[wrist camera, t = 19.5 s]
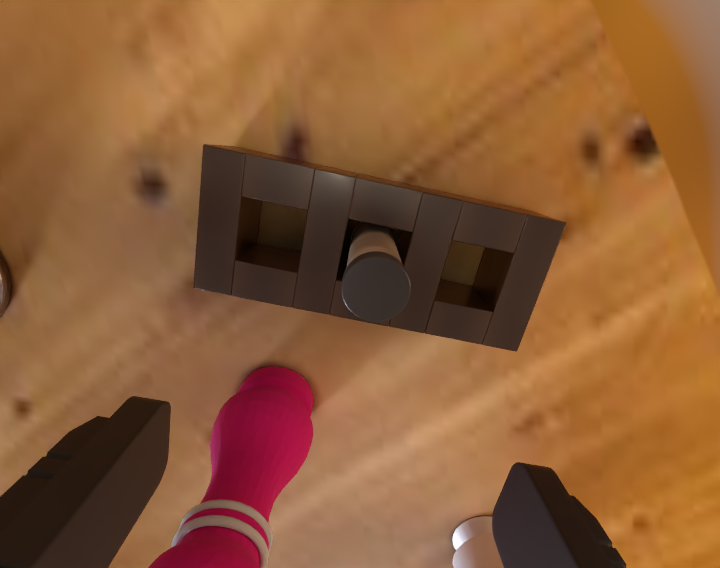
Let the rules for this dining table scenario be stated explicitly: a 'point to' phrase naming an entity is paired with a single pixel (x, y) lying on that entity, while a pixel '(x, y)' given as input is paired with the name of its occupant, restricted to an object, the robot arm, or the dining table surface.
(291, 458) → the pepper mill
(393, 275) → the peg
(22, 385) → the dining table surface
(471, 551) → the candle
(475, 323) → the dark brown hollow block
